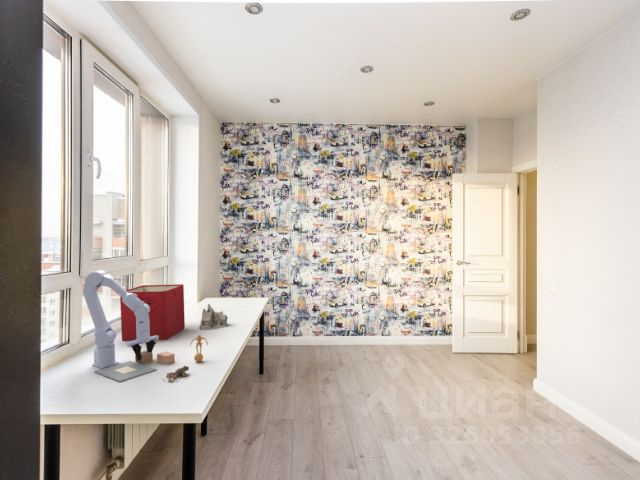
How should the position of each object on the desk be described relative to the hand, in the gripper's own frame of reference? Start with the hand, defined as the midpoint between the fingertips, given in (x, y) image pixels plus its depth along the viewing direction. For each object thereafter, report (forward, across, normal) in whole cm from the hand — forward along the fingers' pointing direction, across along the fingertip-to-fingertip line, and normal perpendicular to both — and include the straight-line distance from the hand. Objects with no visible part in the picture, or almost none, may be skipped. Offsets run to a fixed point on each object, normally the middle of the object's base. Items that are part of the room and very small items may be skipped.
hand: (143, 358), depth 179 cm
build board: (+1, -12, -6) cm, 13 cm away
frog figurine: (+2, -4, -32) cm, 32 cm away
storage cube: (+2, +32, +43) cm, 54 cm away
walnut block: (+1, 0, 0) cm, 1 cm away
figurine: (+2, +14, -23) cm, 27 cm away
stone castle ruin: (+2, +63, +27) cm, 68 cm away
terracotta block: (+2, +5, -10) cm, 11 cm away
